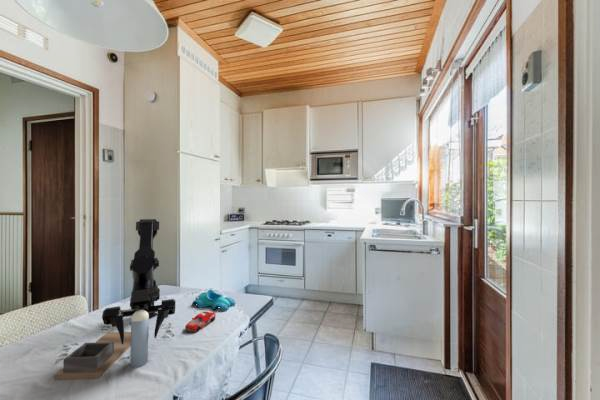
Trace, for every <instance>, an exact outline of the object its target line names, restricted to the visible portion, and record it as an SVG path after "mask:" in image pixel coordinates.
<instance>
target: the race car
mask: <svg viewBox="0 0 600 400" xmlns="http://www.w3.org/2000/svg"><path fill="white" fill-rule="evenodd" d="M191 319H192V320H189V322H188V323H186V324H185V326H184V327H185V328H184V329H185V331H186V332H187V333H198V332H199V330H200V331H201V330H202V329H203V328H205V327H206V326H208V325H209V324H212V323H213V322H214V321H215V320H216V312H215V311H211V310H208V311H202V312H200V313H198V314H197V315H195V316H194V317H192V318H191ZM212 321H213V322H212ZM211 322H212V323H211Z"/></svg>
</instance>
